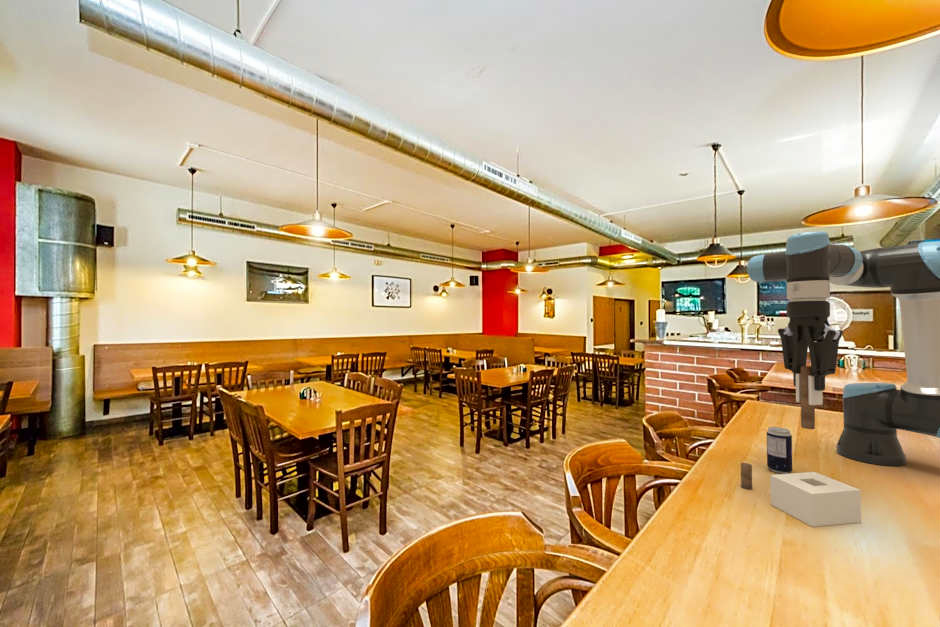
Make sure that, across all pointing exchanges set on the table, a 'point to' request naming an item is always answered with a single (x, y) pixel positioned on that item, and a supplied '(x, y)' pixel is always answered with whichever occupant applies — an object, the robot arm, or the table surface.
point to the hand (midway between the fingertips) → (809, 402)
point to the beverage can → (779, 450)
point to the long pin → (806, 401)
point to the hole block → (815, 498)
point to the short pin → (746, 476)
